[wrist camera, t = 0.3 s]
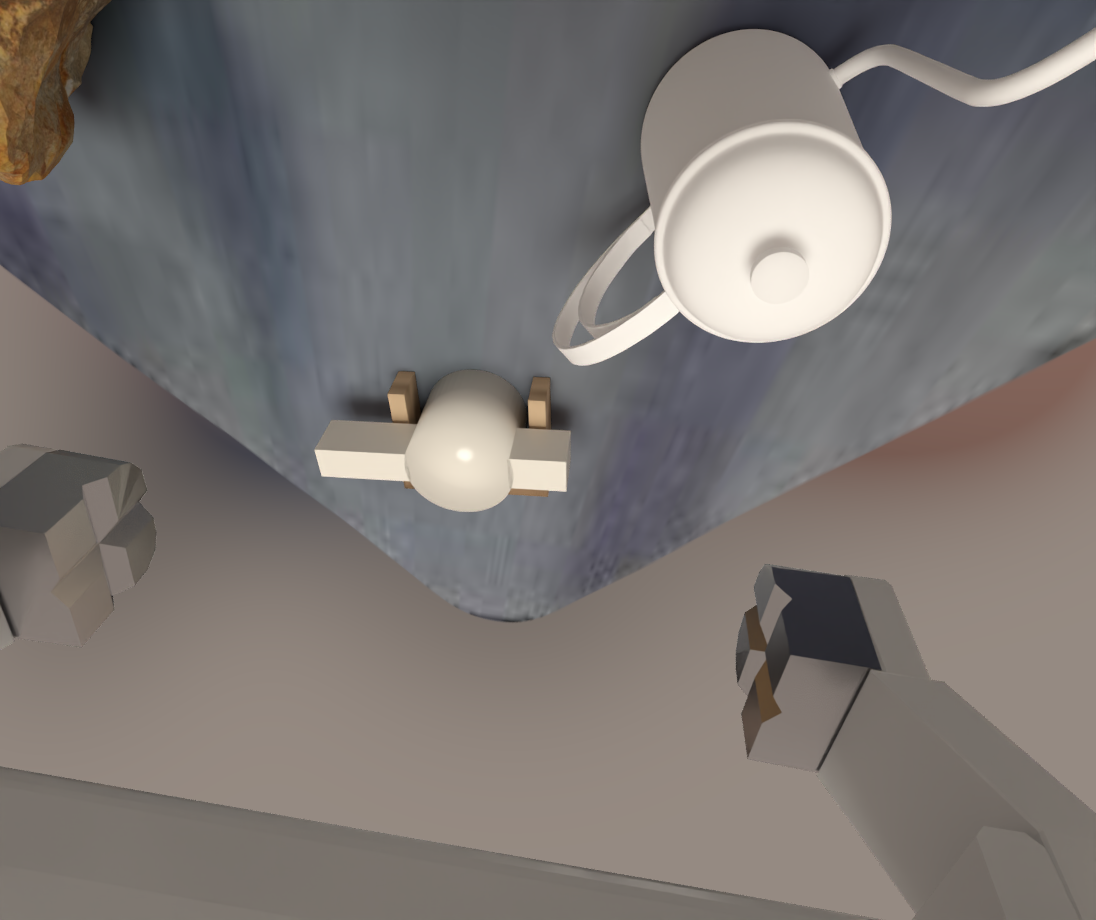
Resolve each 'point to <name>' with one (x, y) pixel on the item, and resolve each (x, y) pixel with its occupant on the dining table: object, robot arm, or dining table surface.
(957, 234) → the dining table surface
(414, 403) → the cradle
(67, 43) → the rough brown rock
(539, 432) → the white bar with bulge
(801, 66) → the coffeepot
